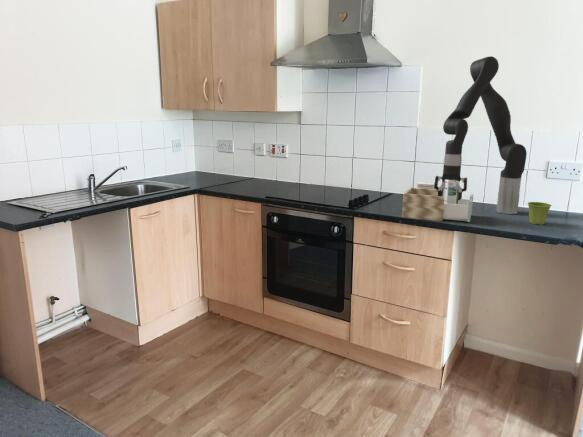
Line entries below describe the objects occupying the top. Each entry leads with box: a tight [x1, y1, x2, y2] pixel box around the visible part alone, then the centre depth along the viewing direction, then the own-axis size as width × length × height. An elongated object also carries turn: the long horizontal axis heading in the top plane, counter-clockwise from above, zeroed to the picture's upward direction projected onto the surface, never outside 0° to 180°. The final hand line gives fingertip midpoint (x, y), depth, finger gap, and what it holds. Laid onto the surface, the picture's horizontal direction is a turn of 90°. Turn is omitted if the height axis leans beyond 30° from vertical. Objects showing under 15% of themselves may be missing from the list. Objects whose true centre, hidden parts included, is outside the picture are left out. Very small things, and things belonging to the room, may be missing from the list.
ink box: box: [416, 181, 435, 190], centre depth 245 cm, size 8×5×12 cm, turn 69°
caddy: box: [401, 187, 445, 222], centre depth 223 cm, size 18×18×11 cm
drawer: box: [443, 193, 474, 223], centre depth 219 cm, size 18×18×9 cm
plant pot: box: [527, 201, 552, 226], centre depth 210 cm, size 9×9×9 cm
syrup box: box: [441, 179, 461, 204], centre depth 218 cm, size 6×6×14 cm
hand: (449, 199), depth 219 cm, fingers closed on syrup box, 8 cm apart
